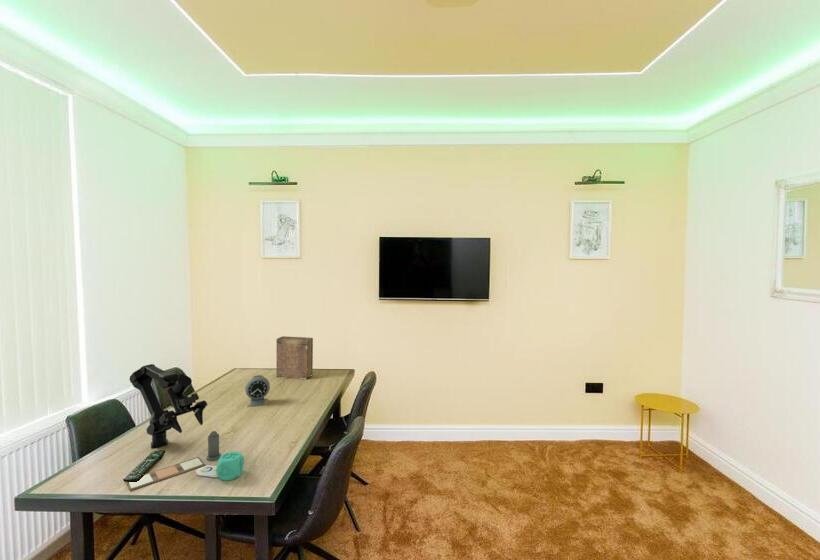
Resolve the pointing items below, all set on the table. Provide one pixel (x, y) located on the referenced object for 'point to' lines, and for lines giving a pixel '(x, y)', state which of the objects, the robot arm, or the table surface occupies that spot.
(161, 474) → the game board
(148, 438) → the table surface
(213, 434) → the pawn
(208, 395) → the table surface
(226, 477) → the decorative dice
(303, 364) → the book
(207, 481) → the table surface
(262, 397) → the alarm clock
